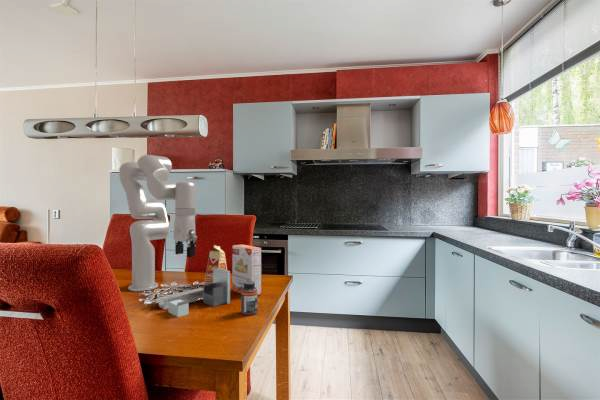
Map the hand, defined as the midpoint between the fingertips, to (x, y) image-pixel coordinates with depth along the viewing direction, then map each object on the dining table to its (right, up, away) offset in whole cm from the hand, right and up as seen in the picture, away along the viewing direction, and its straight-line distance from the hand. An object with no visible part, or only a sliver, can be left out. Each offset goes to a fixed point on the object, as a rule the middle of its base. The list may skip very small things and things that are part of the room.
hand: (185, 255), depth 126 cm
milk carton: (+6, -19, +26) cm, 33 cm away
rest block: (+2, -19, -11) cm, 22 cm away
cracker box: (+22, -20, +14) cm, 33 cm away
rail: (-1, -20, +1) cm, 20 cm away
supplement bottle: (+28, -20, -10) cm, 35 cm away
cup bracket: (+12, -19, +1) cm, 23 cm away
